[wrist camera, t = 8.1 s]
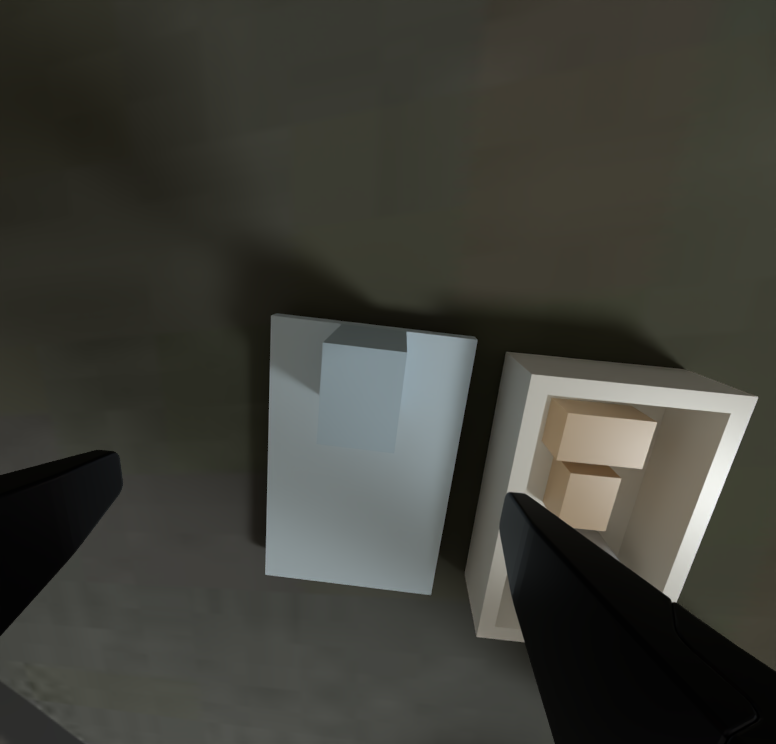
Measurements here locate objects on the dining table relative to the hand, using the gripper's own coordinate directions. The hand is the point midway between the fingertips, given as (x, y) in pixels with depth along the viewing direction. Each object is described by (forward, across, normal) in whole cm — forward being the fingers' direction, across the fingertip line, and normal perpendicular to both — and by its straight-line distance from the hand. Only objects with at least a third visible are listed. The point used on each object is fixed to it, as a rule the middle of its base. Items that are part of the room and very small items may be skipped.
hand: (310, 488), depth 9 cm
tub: (+11, -12, +6) cm, 17 cm away
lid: (+11, 0, +5) cm, 13 cm away
